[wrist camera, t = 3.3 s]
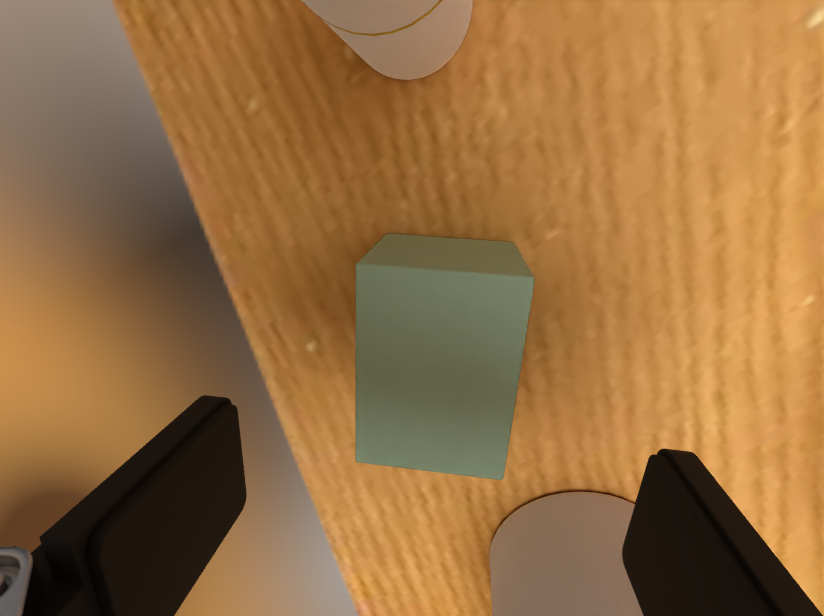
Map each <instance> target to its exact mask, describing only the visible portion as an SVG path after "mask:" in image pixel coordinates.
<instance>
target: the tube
mask: <svg viewBox="0 0 824 616" xmlns="http://www.w3.org/2000/svg"><path fill="white" fill-rule="evenodd" d="M301 1H302V2H304V3H305V4H306V5H307V6H308V7H309V8H310V9H311V10H312V11H313V12H314V13H315V14H316V15H317V16H318V17H319V18H320V19H321V20H323V21H324V22H325V23H326V24H327V25H328V26H329V27H330V28H331V29H332V30H333V31H334V32H335V33H336V34H337V35H338V36H339V37H340V38H341V39H342V40H343V41H344V42H345V43H346V44H347V45H348V46H349V47H351V48H352V49H353V50H354V51H355V52H356V53H357V54H358V55H359V56H360V57H361V58H362V59H363V60H364V61H365V62H366V63H367V64H368V65H369V66H371V67H372V68H373V69H374V70H376V71H378V72H379V73H381V74H383V75H385V76H388V77H391V78H394V79H401V80H412V79H419V78H422V77H425V76H428V75H430V74H432V73H434V72H435V71H437V70H439V69H440V68H442V67H443V66H444V65H445V64H446V63H447V62H448V61H449V60H450V59H451V58H452V57H453V56H454V54H455V53H456V52H457V50H458V49H459V48H460V46H461V44H462V42H463V40H464V38H465V36H466V34H467V30H468V27H469V23H470V20H471V14H472V5H473V0H301Z"/></svg>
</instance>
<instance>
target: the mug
mask: <svg viewBox="0 0 824 616" xmlns="http://www.w3.org/2000/svg"><path fill="white" fill-rule="evenodd" d="M634 506H635V504H633V503H631V502H628V501H626V500H624V499H621V498H618V497H614V496H611V495H607V494H601V493H595V492H566V493H559V494H554V495H549V496H546V497H543V498H540V499H537V500H534V501H532V502H530V503H528V504H526V505H524V506H522V507H521V508H519V509H518V510H516V511H515V512H513V513H512V514H511V515H510V516H509V517H508V518H507V519H506V520H505V521H504V522H503V523H502V525H501V526H500V527H499V529H498V530H497V532H496V534H495V536H494V538H493V540H492V543H491V548H490V555H489V564H490V580H491V597H492V613H493V616H643V613H642V611H641V608H640V606H639V603H638V601H637V598H636V595H635V593H634V590H633V588H632V585H631V583H630V580H629V578H628V575H627V572H626V570H625V567H624V564H623V559H622V548H623V544H624V540H625V537H626V533H627V530H628V527H629V523H630V520H631V517H632V513H633V510H634Z"/></svg>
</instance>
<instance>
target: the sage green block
mask: <svg viewBox="0 0 824 616" xmlns="http://www.w3.org/2000/svg"><path fill="white" fill-rule="evenodd" d="M534 282H535V278H534V276H533V274H532V272H531V271H530V269H529V267H528V266H527V264H526V262H525V260H524V259H523V257H522V255H521V253H520V252H519V250H518V248H517V247H516V245H515V243H514V242H504V241H490V240H476V239H462V238H447V237H433V236H419V235H405V234H390V233H388V234H386V235H385V236H384V237H383V238H382V239H381V240H380V241H379V242H378V243H377V244H376V245H375V246H374V247H373V248H372V249H371V250H370V251H369V252H368V253H367V254H366V255H365V256H364V257H363V258H362V259H361V260H360V261H359V262H357V263H356V462H360V463H368V464H376V465H384V466H392V467H400V468H408V469H416V470H424V471H432V472H440V473H448V474H456V475H464V476H472V477H480V478H488V479H496V480H503V477H504V471H505V465H506V459H507V452H508V446H509V440H510V433H511V427H512V421H513V414H514V408H515V402H516V396H517V389H518V383H519V377H520V370H521V364H522V358H523V351H524V345H525V339H526V333H527V326H528V320H529V314H530V307H531V301H532V295H533V288H534Z"/></svg>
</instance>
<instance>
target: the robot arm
mask: <svg viewBox="0 0 824 616" xmlns="http://www.w3.org/2000/svg"><path fill="white" fill-rule="evenodd" d="M245 502H246V485H245V477H244V466H243V457H242V448H241V438H240V429H239V419H238V411H237V407H236V406H235V405H232V404H231V401H230V399H228V398H224V397H215V396H207V395H205V396H201V397H200V398H198V399H197V400H196V401H195V402H194V403H193V404H192V405H190V406H189V407H188V408H187V409H186V410H185V411H184V412H182V413H181V414H180V415H179V416H178V417H177V418H176V419H174V420H173V421H172V422H171V423H170V424H169V425H168V426H166V427H165V428H164V429H163V430H162V431H161V432H159V433H158V434H157V435H156V436H155V437H154V438H153V439H151V440H150V441H149V442H148V443H147V444H146V445H145V446H144V447H142V448H141V449H140V450H139V451H138V452H137V453H136V454H134V455H133V456H132V457H131V458H130V459H129V460H127V462H125V463H124V464H123V465H122V466H121V467H120V468H118V469H117V470H116V471H115V472H114V473H113V474H111V476H109V477H108V478H107V479H106V480H105V481H103V482H102V483H101V484H100V485H99V486H98V487H97V488H95V489H94V490H93V491H92V492H91V493H90V494H89V495H87V496H86V497H85V498H84V499H83V500H82V501H80V502H79V503H78V504H77V505H76V506H75V507H74V508H72V509H71V510H70V511H69V512H68V513H67V514H66V515H65V516H63V517H62V518H61V519H60V520H59V521H58V522H57V523H55V524H54V525H53V526H52V527H51V528H50V529H48V530H47V531H46V532H45V533H44V534H43V535H42V536H40V541H41V545H40V546H38V547H37V548H36V549H35V550H34V551H33V552H32V553H31V554H30V553H29V552H28V551H27V550H26V549H23V548H19V547H15V546H14V547H0V616H174V615H175V614H176V612H177V610H178V609H179V607H180V606H181V604H182V603H183V601H184V599H185V598H186V597H187V595H188V593H189V592H190V590H191V589H192V587H193V586H194V584H195V582H196V581H197V579H198V578H199V576H200V575H201V573H202V572H203V570H204V569H205V567H206V565H207V564H208V562H209V561H210V559H211V558H212V556H213V555H214V553H215V552H216V550H217V549H218V547H219V546H220V544H221V542H222V541H223V539H224V538H225V536H226V535H227V533H228V532H229V530H230V529H231V527H232V525H233V524H234V522H235V521H236V519H237V518H238V516H239V515H240V513H241V511H242V510H243V507H244V505H245ZM622 559H623V564H624V567H625V570H626V572H627V575H628V578H629V580H630V583H631V585H632V588H633V590H634V593H635V595H636V598H637V601H638V603H639V606H640V608H641V611H642V613H643V616H823V615H822V614H821V613H820V611H819V610H818V609H817V608H816V606H815V605H814V604H813V603H812V601H811V600H810V599H809V597H808V596H807V595H806V594H805V592H804V591H803V590H802V589H801V587H800V586H799V585H798V584H797V582H796V581H795V580H794V578H793V577H792V576H791V575H790V573H789V572H788V571H787V570H786V568H785V567H784V566H783V565H782V563H781V562H780V561H779V559H778V558H777V557H776V556H775V554H774V553H773V552H772V551H771V549H770V548H769V547H768V546H767V544H766V543H765V542H764V540H763V539H762V538H761V537H760V535H759V534H758V533H757V532H756V530H755V529H754V528H753V527H752V525H751V524H750V523H749V521H748V520H747V519H746V518H745V516H744V515H743V514H742V513H741V511H740V510H739V509H738V508H737V506H736V505H735V504H734V503H733V501H732V500H731V499H730V497H729V496H728V495H727V494H726V492H725V491H724V490H723V489H722V487H721V486H720V485H719V484H718V482H717V481H716V480H715V478H714V477H713V476H712V475H711V473H710V472H709V471H708V470H707V468H706V467H705V466H704V465H703V463H702V462H701V461H700V459H699V458H698V457H697V456H696V455H695V454H694V453H692V452H688V451H679V450H670V449H661V450H660V451H659V452H658V453H657V455H651V456H650V457H649V459H648V462H647V466H646V469H645V473H644V476H643V479H642V483H641V486H640V490H639V493H638V496H637V500H636V503H635V506H634V510H633V513H632V517H631V520H630V523H629V527H628V530H627V533H626V537H625V540H624V544H623V548H622Z"/></svg>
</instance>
